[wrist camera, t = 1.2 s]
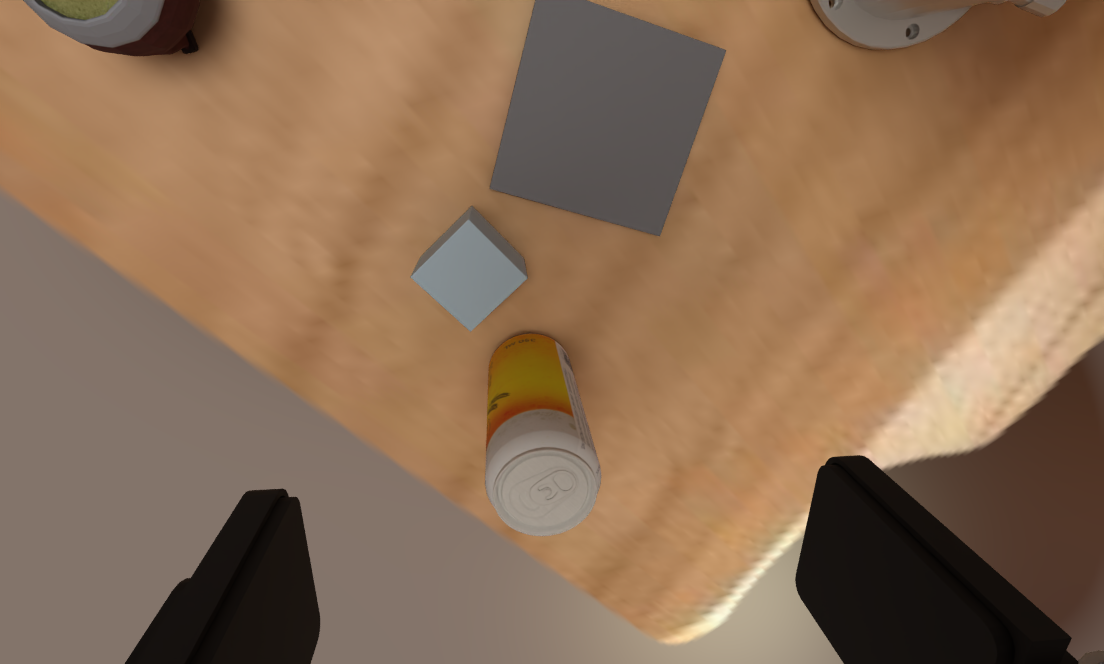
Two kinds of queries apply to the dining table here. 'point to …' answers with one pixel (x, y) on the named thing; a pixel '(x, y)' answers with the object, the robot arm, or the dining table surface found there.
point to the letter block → (470, 269)
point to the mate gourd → (124, 24)
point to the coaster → (603, 113)
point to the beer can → (538, 439)
